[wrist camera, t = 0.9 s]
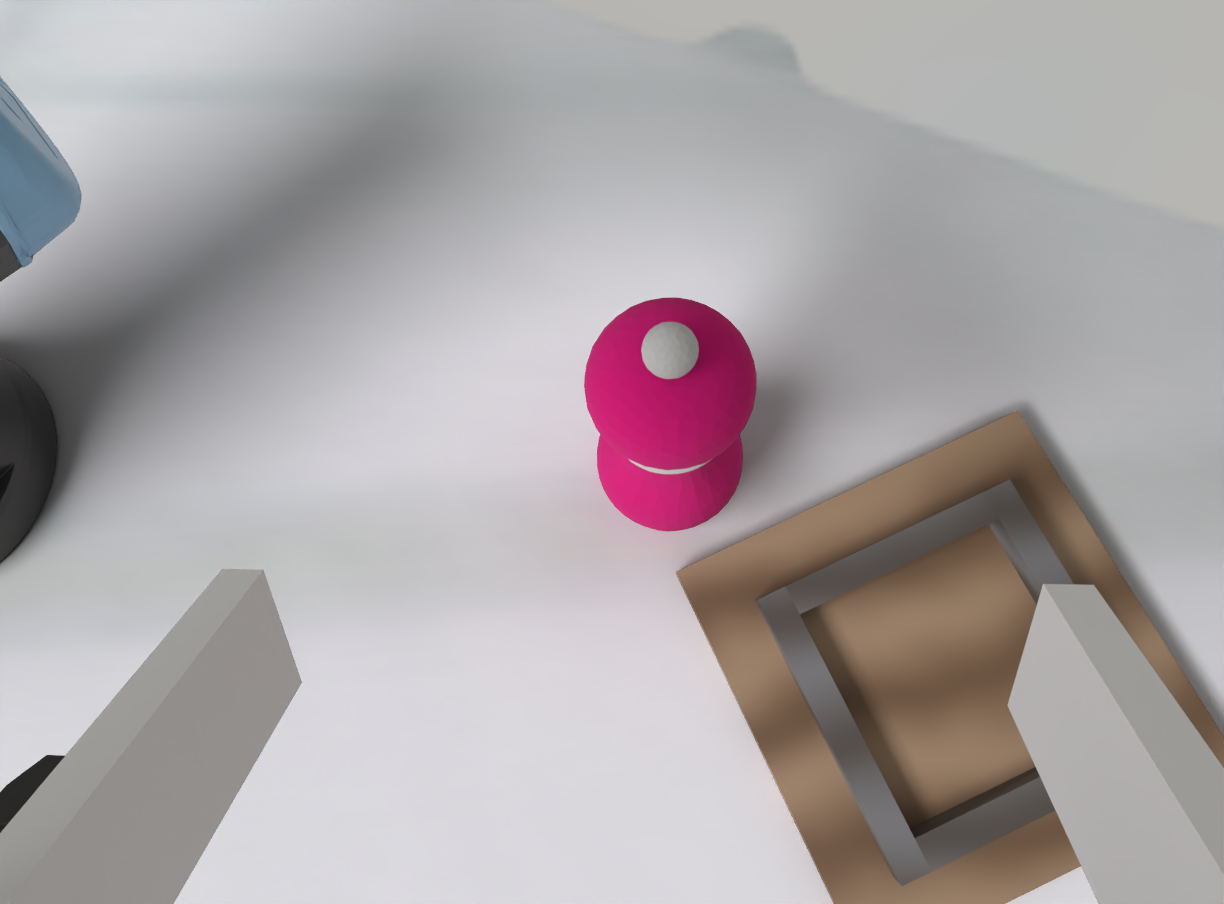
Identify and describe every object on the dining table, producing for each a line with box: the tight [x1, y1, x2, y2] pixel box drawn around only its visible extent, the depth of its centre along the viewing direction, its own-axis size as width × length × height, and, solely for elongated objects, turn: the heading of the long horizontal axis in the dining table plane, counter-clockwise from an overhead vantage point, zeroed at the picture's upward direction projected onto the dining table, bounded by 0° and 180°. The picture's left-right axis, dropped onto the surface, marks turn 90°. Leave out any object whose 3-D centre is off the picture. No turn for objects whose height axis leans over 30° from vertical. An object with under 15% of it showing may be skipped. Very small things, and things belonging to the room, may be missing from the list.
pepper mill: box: [584, 298, 756, 531], centre depth 32 cm, size 7×7×20 cm
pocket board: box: [676, 411, 1224, 904], centre depth 38 cm, size 20×20×3 cm
